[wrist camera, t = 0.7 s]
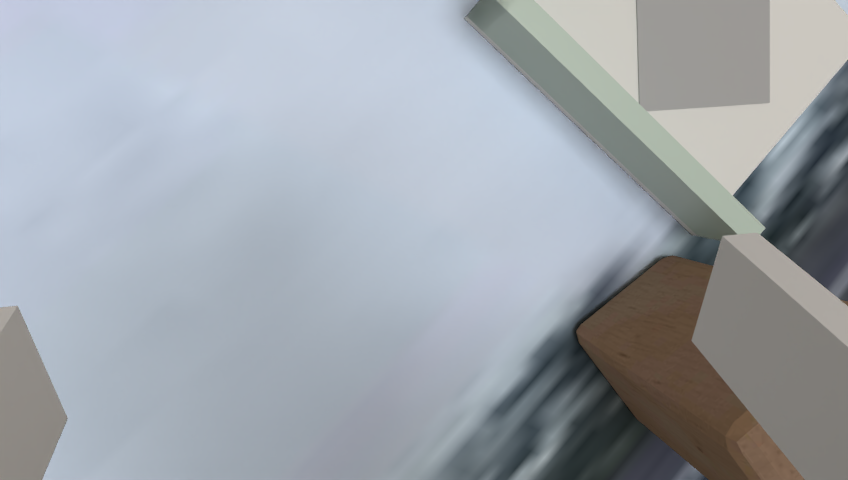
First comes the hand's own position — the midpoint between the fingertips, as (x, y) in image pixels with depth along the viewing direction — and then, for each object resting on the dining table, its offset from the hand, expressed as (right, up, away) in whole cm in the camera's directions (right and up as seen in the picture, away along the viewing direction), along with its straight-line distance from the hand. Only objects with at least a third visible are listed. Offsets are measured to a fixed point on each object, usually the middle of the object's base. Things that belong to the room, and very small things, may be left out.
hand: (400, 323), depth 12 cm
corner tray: (+19, +17, +34) cm, 42 cm away
